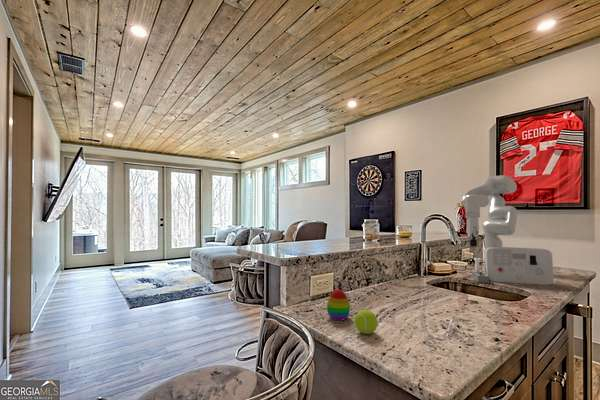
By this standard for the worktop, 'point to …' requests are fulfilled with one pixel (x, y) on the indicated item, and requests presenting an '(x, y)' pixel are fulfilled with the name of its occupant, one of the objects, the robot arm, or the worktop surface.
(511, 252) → the rounded white slab
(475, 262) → the breaker handle
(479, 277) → the breaker block
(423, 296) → the worktop surface
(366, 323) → the tennis ball
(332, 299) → the decorative egg
